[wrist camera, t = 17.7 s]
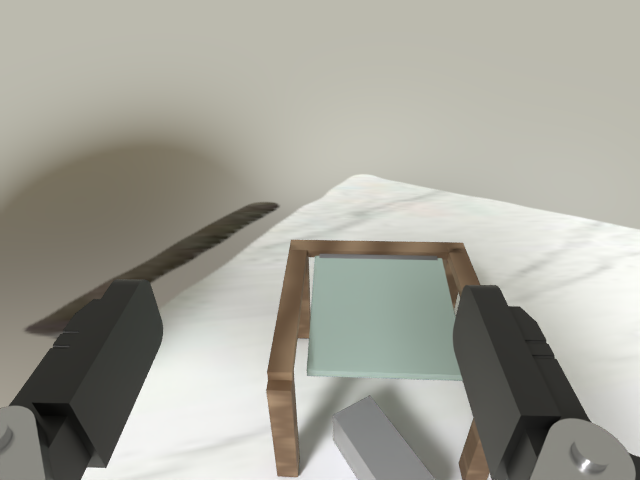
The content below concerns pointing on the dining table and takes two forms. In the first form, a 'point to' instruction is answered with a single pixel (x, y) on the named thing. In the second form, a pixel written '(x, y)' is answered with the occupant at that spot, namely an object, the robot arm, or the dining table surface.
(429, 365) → the trapdoor
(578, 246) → the dining table surface
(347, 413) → the grey rectangular block
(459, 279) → the trapdoor frame
